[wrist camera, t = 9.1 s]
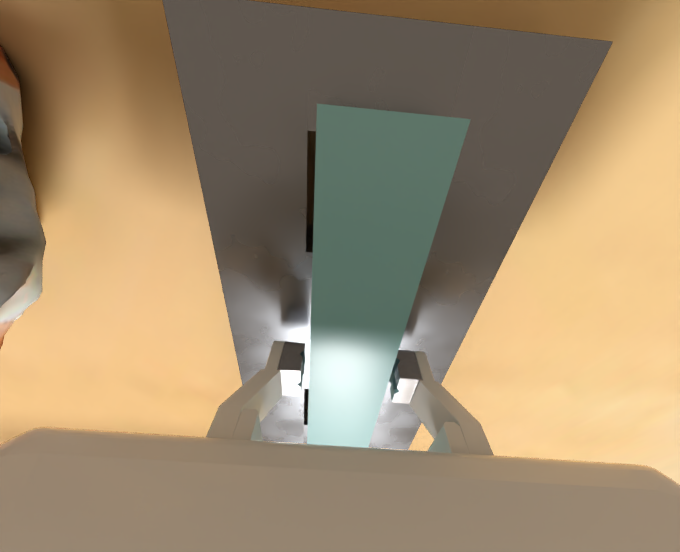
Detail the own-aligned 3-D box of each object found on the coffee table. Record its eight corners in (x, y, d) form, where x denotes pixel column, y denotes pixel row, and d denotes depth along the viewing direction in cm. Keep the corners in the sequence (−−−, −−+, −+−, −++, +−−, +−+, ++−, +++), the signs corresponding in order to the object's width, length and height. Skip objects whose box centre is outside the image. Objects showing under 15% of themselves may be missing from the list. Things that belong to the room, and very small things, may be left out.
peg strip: (418, 114, 10) (470, 119, 6) (356, 401, 21) (359, 475, 17) (329, 105, 10) (317, 103, 6) (314, 399, 21) (306, 471, 17)
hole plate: (541, 59, 9) (612, 41, 7) (400, 411, 23) (407, 449, 20) (212, 23, 9) (160, -10, 7) (264, 402, 22) (254, 440, 20)
